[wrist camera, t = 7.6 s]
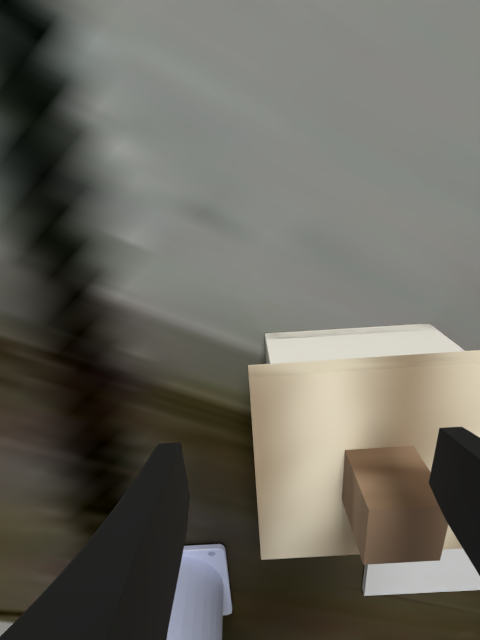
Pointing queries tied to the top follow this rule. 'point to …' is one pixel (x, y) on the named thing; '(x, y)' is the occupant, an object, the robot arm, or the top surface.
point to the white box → (356, 343)
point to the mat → (422, 575)
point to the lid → (357, 453)
